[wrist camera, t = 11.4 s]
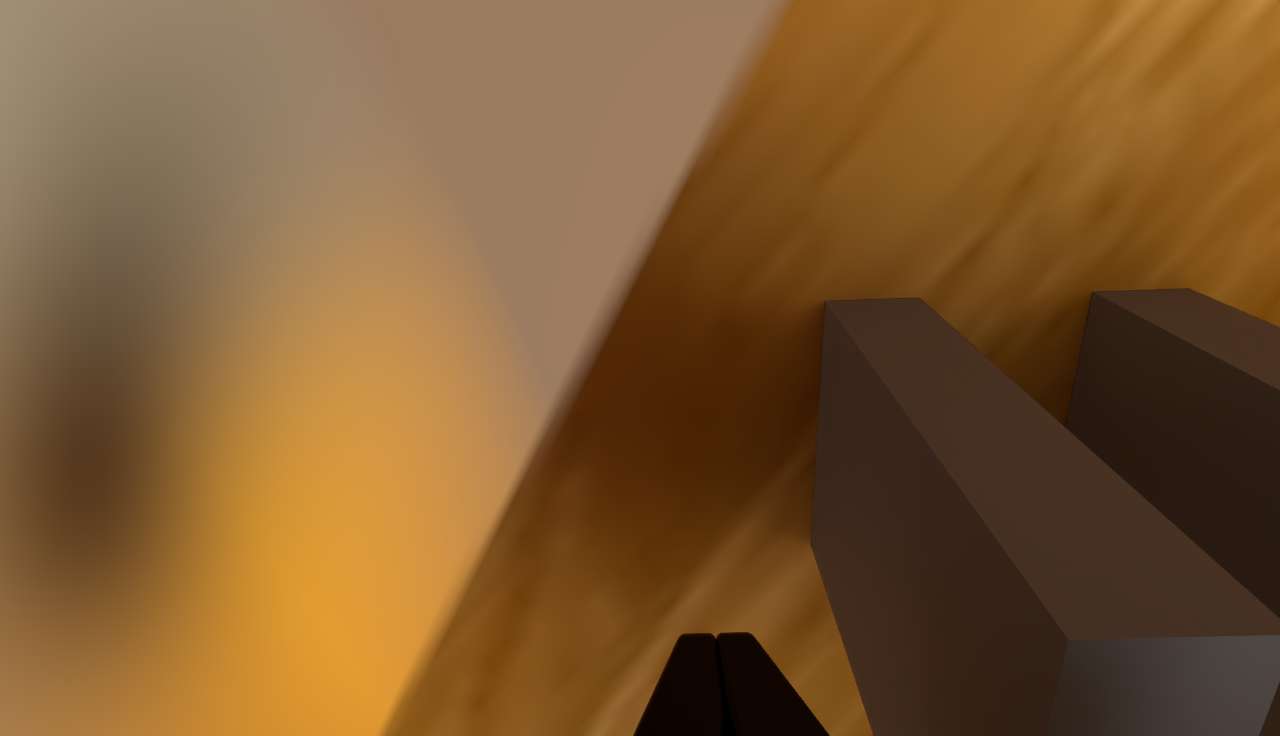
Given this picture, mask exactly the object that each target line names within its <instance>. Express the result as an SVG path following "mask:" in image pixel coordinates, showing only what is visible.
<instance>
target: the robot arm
mask: <svg viewBox="0 0 1280 736" xmlns="http://www.w3.org/2000/svg"><path fill="white" fill-rule="evenodd" d="M633 736H830V735H829V734H828V733H827V731H826V730H825V729H824V727H823V726H822V725H821V724H820V722H819V721H818V720H817V718H816V717H815V716H814V714H813V713H812V712H811V710H810V709H809V708H808V706H807V705H806V704H805V703H804V701H803V700H802V699H801V697H800V696H799V695H798V693H797V692H796V691H795V689H794V688H793V687H792V685H791V684H790V683H789V682H788V680H787V679H786V678H785V676H784V675H783V674H782V672H781V671H780V670H779V668H778V667H777V666H776V664H775V663H774V662H773V661H772V659H771V658H770V657H769V655H768V654H767V653H766V651H765V650H764V649H763V647H762V646H761V645H760V643H759V642H758V641H757V640H756V638H755V637H754V636H753V635H752V634H750V633H748V632H731V633H720V634H718V635H717V637H716V639H715V637H714V635H713V634H711V633H691V634H682V635H681V636H680V637H679V638H678V640H677V642H676V644H675V646H674V648H673V650H672V652H671V655H670V657H669V659H668V661H667V663H666V665H665V668H664V670H663V672H662V674H661V676H660V678H659V681H658V683H657V685H656V687H655V689H654V691H653V694H652V696H651V698H650V700H649V702H648V704H647V707H646V709H645V711H644V713H643V715H642V717H641V720H640V722H639V724H638V726H637V728H636V730H635V733H634V735H633Z"/></svg>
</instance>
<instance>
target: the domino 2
mask: <svg viewBox="0 0 1280 736" xmlns="http://www.w3.org/2000/svg"><path fill="white" fill-rule="evenodd" d="M1065 428H1066V429H1068V430H1069V431H1070V432H1071V433H1072V434H1073V435H1074V436H1075V437H1077V438H1078V439H1079V440H1080V441H1081V442H1082V443H1083V444H1084V445H1085V446H1087V447H1088V448H1089V449H1090V450H1091V451H1092V452H1093V453H1094V454H1096V455H1097V456H1098V457H1099V458H1100V459H1101V460H1102V461H1103V462H1105V463H1106V464H1107V465H1108V466H1109V467H1110V468H1111V469H1112V470H1114V471H1115V472H1116V473H1117V474H1118V475H1119V476H1120V477H1121V478H1123V479H1124V480H1125V481H1126V482H1127V483H1128V484H1129V485H1130V486H1131V487H1133V488H1134V489H1135V490H1136V491H1137V492H1138V493H1139V494H1140V495H1142V496H1143V497H1144V498H1145V499H1146V500H1147V501H1148V502H1149V503H1151V504H1152V505H1153V506H1154V507H1155V508H1156V509H1157V510H1158V511H1160V512H1161V513H1162V514H1163V515H1164V516H1165V517H1166V518H1167V519H1169V520H1170V521H1171V522H1172V523H1173V524H1174V525H1175V526H1176V527H1177V528H1179V529H1180V530H1181V531H1182V532H1183V533H1184V534H1185V535H1186V536H1188V537H1189V538H1190V539H1191V540H1192V541H1193V542H1194V543H1195V544H1197V545H1198V546H1199V547H1200V548H1201V549H1202V550H1203V551H1204V552H1206V553H1207V554H1208V555H1209V556H1210V557H1211V558H1212V559H1213V560H1215V561H1216V562H1217V563H1218V564H1219V565H1220V566H1221V567H1222V568H1223V569H1225V570H1226V571H1227V572H1228V573H1229V574H1230V575H1231V576H1232V577H1234V578H1235V579H1236V580H1237V581H1238V582H1239V583H1240V584H1241V585H1243V586H1244V587H1245V588H1246V589H1247V590H1248V591H1249V592H1250V593H1252V594H1253V595H1254V596H1255V597H1256V598H1257V599H1258V600H1259V601H1261V602H1262V603H1263V604H1264V605H1265V606H1266V607H1267V608H1268V609H1269V610H1271V611H1272V612H1273V613H1274V614H1275V615H1276V616H1277V617H1278V618H1280V327H1278V326H1275V325H1273V324H1271V323H1268V322H1266V321H1264V320H1261V319H1259V318H1257V317H1254V316H1252V315H1250V314H1247V313H1245V312H1243V311H1240V310H1238V309H1236V308H1233V307H1231V306H1229V305H1226V304H1224V303H1222V302H1219V301H1217V300H1214V299H1212V298H1210V297H1207V296H1205V295H1203V294H1200V293H1198V292H1196V291H1193V290H1191V289H1163V290H1135V291H1106V292H1093V293H1092V298H1091V303H1090V308H1089V313H1088V318H1087V323H1086V328H1085V333H1084V338H1083V343H1082V348H1081V352H1080V357H1079V362H1078V367H1077V372H1076V377H1075V382H1074V387H1073V392H1072V397H1071V402H1070V407H1069V412H1068V416H1067V421H1066V426H1065ZM1259 736H1280V682H1279V685H1278V688H1277V690H1276V693H1275V695H1274V698H1273V701H1272V703H1271V706H1270V708H1269V711H1268V714H1267V716H1266V719H1265V721H1264V724H1263V727H1262V729H1261V732H1260V734H1259Z"/></svg>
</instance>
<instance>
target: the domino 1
mask: <svg viewBox="0 0 1280 736" xmlns="http://www.w3.org/2000/svg"><path fill="white" fill-rule="evenodd" d="M811 547H812V550H813V553H814V556H815V559H816V562H817V565H818V568H819V571H820V574H821V577H822V580H823V583H824V586H825V589H826V592H827V595H828V599H829V602H830V605H831V608H832V611H833V614H834V617H835V620H836V623H837V626H838V629H839V632H840V635H841V638H842V641H843V644H844V647H845V650H846V653H847V656H848V659H849V662H850V665H851V668H852V671H853V674H854V677H855V680H856V683H857V686H858V690H859V693H860V696H861V699H862V702H863V705H864V708H865V711H866V714H867V717H868V720H869V723H870V726H871V729H872V732H873V735H874V736H1259V734H1260V732H1261V729H1262V727H1263V724H1264V721H1265V719H1266V716H1267V714H1268V711H1269V708H1270V706H1271V703H1272V701H1273V698H1274V695H1275V693H1276V690H1277V688H1278V685H1279V682H1280V618H1278V617H1277V616H1276V615H1275V614H1274V613H1273V612H1272V611H1271V610H1269V609H1268V608H1267V607H1266V606H1265V605H1264V604H1263V603H1262V602H1261V601H1259V600H1258V599H1257V598H1256V597H1255V596H1254V595H1253V594H1252V593H1250V592H1249V591H1248V590H1247V589H1246V588H1245V587H1244V586H1243V585H1241V584H1240V583H1239V582H1238V581H1237V580H1236V579H1235V578H1234V577H1232V576H1231V575H1230V574H1229V573H1228V572H1227V571H1226V570H1225V569H1223V568H1222V567H1221V566H1220V565H1219V564H1218V563H1217V562H1216V561H1215V560H1213V559H1212V558H1211V557H1210V556H1209V555H1208V554H1207V553H1206V552H1204V551H1203V550H1202V549H1201V548H1200V547H1199V546H1198V545H1197V544H1195V543H1194V542H1193V541H1192V540H1191V539H1190V538H1189V537H1188V536H1186V535H1185V534H1184V533H1183V532H1182V531H1181V530H1180V529H1179V528H1177V527H1176V526H1175V525H1174V524H1173V523H1172V522H1171V521H1170V520H1169V519H1167V518H1166V517H1165V516H1164V515H1163V514H1162V513H1161V512H1160V511H1158V510H1157V509H1156V508H1155V507H1154V506H1153V505H1152V504H1151V503H1149V502H1148V501H1147V500H1146V499H1145V498H1144V497H1143V496H1142V495H1140V494H1139V493H1138V492H1137V491H1136V490H1135V489H1134V488H1133V487H1131V486H1130V485H1129V484H1128V483H1127V482H1126V481H1125V480H1124V479H1123V478H1121V477H1120V476H1119V475H1118V474H1117V473H1116V472H1115V471H1114V470H1112V469H1111V468H1110V467H1109V466H1108V465H1107V464H1106V463H1105V462H1103V461H1102V460H1101V459H1100V458H1099V457H1098V456H1097V455H1096V454H1094V453H1093V452H1092V451H1091V450H1090V449H1089V448H1088V447H1087V446H1085V445H1084V444H1083V443H1082V442H1081V441H1080V440H1079V439H1078V438H1077V437H1075V436H1074V435H1073V434H1072V433H1071V432H1070V431H1069V430H1068V429H1066V428H1065V427H1064V426H1063V425H1062V424H1061V423H1060V422H1059V421H1057V420H1056V419H1055V418H1054V417H1053V416H1052V415H1051V414H1050V413H1048V412H1047V411H1046V410H1045V409H1044V408H1043V407H1042V406H1041V405H1039V404H1038V403H1037V402H1036V401H1035V400H1034V399H1033V398H1032V397H1031V396H1029V395H1028V394H1027V393H1026V392H1025V391H1024V390H1023V389H1022V388H1020V387H1019V386H1018V385H1017V384H1016V383H1015V382H1014V381H1013V380H1011V379H1010V378H1009V377H1008V376H1007V375H1006V374H1005V373H1004V372H1002V371H1001V370H1000V369H999V368H998V367H997V366H996V365H995V364H993V363H992V362H991V361H990V360H989V359H988V358H987V357H986V356H985V355H983V354H982V353H981V352H980V351H979V350H978V349H977V348H976V347H974V346H973V345H972V344H971V343H970V342H969V341H968V340H967V339H965V338H964V337H963V336H962V335H961V334H960V333H959V332H958V331H956V330H955V329H954V328H953V327H952V326H951V325H950V324H949V323H947V322H946V321H945V320H944V319H943V318H942V317H941V316H940V315H939V314H937V313H936V312H935V311H934V310H933V309H932V308H931V307H930V306H928V305H927V304H926V303H925V302H924V301H923V300H922V299H921V298H898V299H868V300H838V301H825V311H824V328H823V345H822V362H821V379H820V395H819V412H818V429H817V446H816V463H815V480H814V497H813V514H812V530H811Z"/></svg>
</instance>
